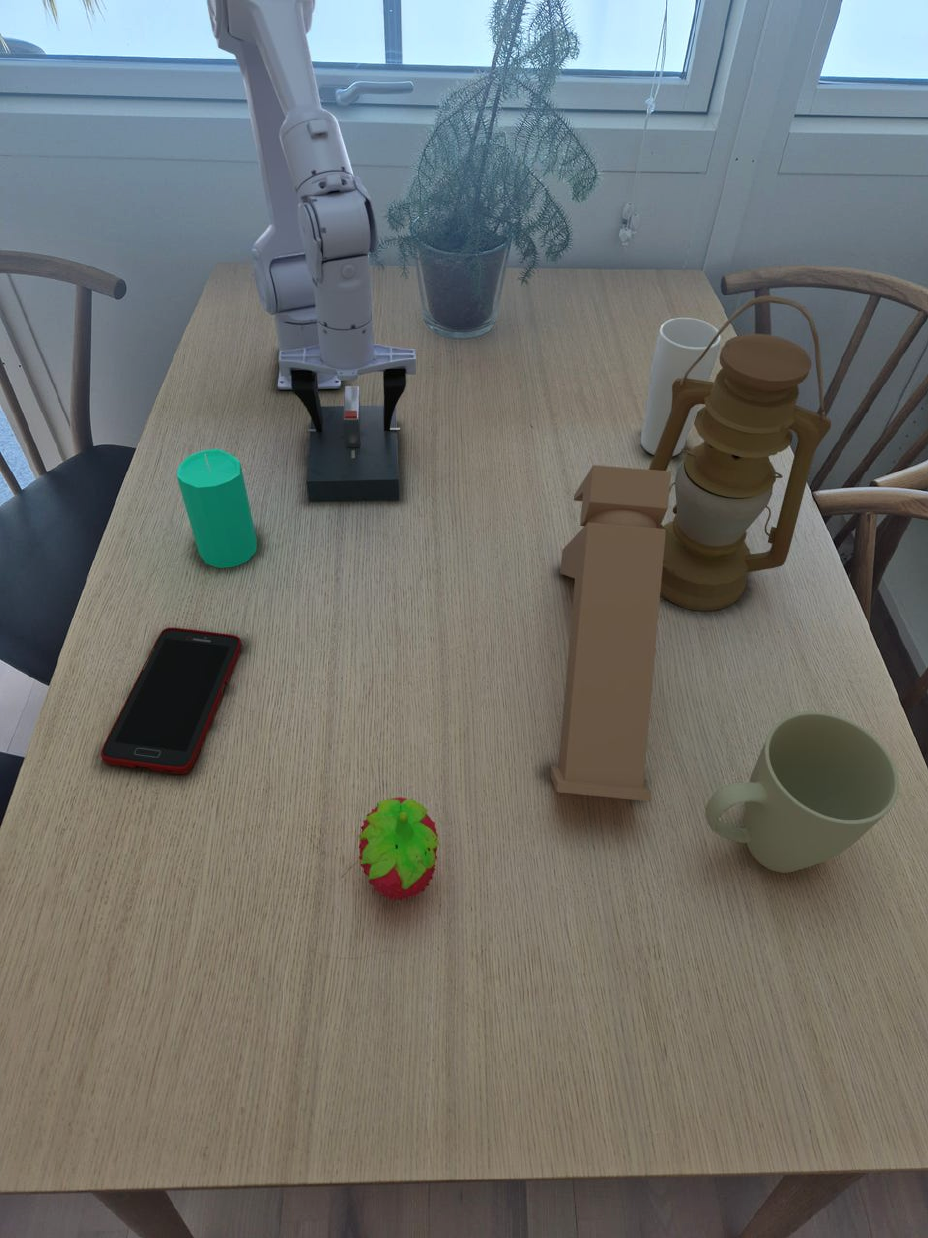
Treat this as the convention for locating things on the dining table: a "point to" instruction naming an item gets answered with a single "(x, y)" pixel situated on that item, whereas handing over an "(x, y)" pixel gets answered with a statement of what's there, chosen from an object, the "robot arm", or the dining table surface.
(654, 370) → the white cup
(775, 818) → the mug
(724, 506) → the lantern
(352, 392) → the tap handle
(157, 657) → the cell phone
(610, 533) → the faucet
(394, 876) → the strawberry
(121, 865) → the dining table surface
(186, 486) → the candle
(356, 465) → the plate
